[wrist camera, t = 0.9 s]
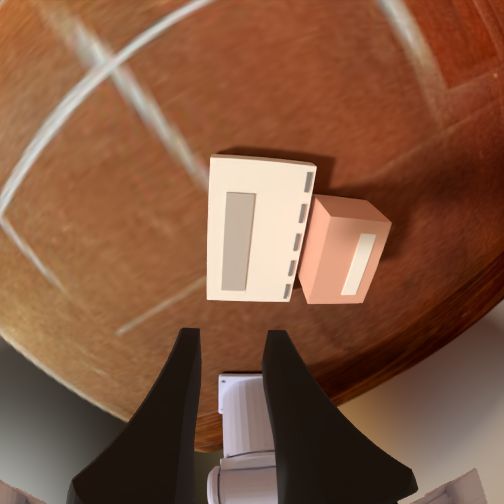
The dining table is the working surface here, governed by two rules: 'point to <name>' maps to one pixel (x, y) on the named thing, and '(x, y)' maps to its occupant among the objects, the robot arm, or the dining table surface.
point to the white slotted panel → (256, 226)
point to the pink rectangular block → (341, 249)
